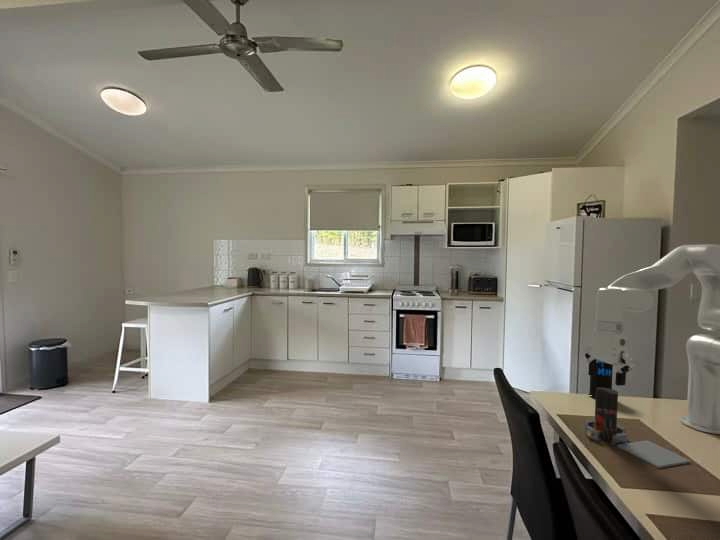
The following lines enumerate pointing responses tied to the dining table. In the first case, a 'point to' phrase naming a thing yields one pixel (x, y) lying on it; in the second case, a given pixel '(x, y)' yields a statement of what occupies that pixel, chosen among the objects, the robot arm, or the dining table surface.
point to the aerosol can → (601, 378)
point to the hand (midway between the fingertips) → (606, 379)
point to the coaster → (653, 454)
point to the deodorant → (606, 412)
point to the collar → (595, 434)
